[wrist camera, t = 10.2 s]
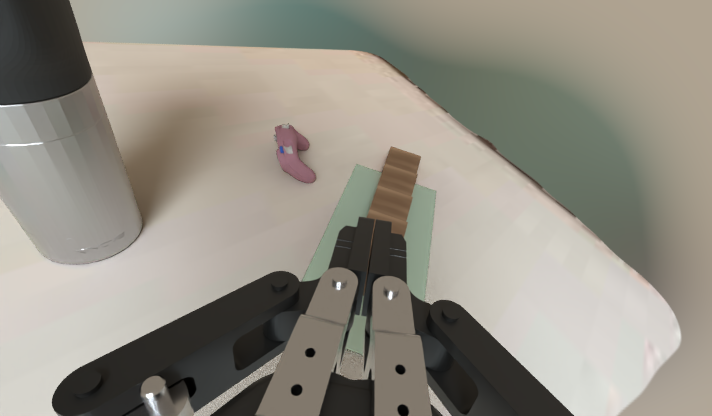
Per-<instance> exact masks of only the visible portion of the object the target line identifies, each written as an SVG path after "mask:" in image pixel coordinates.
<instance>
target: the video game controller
mask: <svg viewBox="0 0 712 416" xmlns="http://www.w3.org/2000/svg"><path fill="white" fill-rule="evenodd" d="M275 131H276V136H275V135H274V140H275V141H276V142H278V148H279V149H277V151H276V152H277V157H278V160H279V162H280V165H281V167H282V169H283V170H284V171H285V172H287V173H289V174H290V175H291V176H293V177H294V178H296V179H297V180H299V181H302V182H305V183H312V182H314V181H315V179H316V175H315V173H314V172H313V170H311V169H310V168H309V167H308V166H306V165H305V164H304V163H303V162H302V161H301V160H300V159H299V157H298V151H297V149H299V150H307V149H308V148H309V142H308V140H307V139H306V138H305V137H304V136H302V135H301V134H300V133H298V132H297V131H296V130H295V129H294V128H293V127H292V126H291V125H289V123H288V124H287V125H284V124H283V125H280V126H277V127H275Z"/></svg>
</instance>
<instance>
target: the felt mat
mask: <svg viewBox="0 0 712 416" xmlns="http://www.w3.org/2000/svg"><path fill="white" fill-rule="evenodd" d="M381 174H382V172H379V171H376V170H373V169H370V168H367V167H364V166H361V165H358V164H356V166H355V169H354V171H353V173H352V175H351V177H350V179H349V182H348V184H347V186H346V188H345V190H344V192H343V194H342V197H341V199H340V201H339V203H338V205H337V207H336V209H335V212H334V214H333V216H332V218H331V220H330V222H329V224H328V227H327V229H326V231H325V233H324V235H323V237H322V240H321V242H320V244H319V246H318V248H317V250H316V252H315V255H314V257H313V259H312V261H311V263H310V265H309V267H308V270H307V272H306V274H305V276H304V278H303V280H302V281H312V280H316V279H318V278H320V277H321V276H322V275H323V273H324V272H325V271H327V270H328V267H329V264H330V261H331V257H332V254H333V251H334V247H335V244H336V240H337V237H338V234H339V231H340V230H341V229H342V228H343V227H345V226H346V225H347V226H353V227H357V223H358V219H359V217H366V218H367V215H368V212H369V209H370V206H371V203H372V200H373V197H374V195H375V192H376V189H377V185H378V183H379V180H380V177H381ZM412 197H413V199H412V203H411V206H410V210H409V214H408V217H407V221H406V222H408V224H407V228H406V232H405V236H404V239H405V241H406V248H407V251H406V252H407V257H406V259H407V285H408V287H409V289H410V291H411V293H412V294H413V295H414V296H416V297H417V298H418V299H420V300H422V301H424V299H425V290H426V281H427V272H428V263H429V254H430V245H431V235H432V226H433V217H434V208H435V199H436V191H435V190H432V189H429V188H426V187H423V186H420V185H417V184H415V186H414V189H413V193H412ZM363 300H364V296H363V298H362V304H361V310H360V315H355V317H354V323H353V326H352V328H351V330H350V335H349V339H348V343H347V347H346V349H348V350H350V351H353V352H356V353H359V354H361V355H363V336H364V329H365V324H366V316H361V314H362V307H363Z"/></svg>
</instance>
